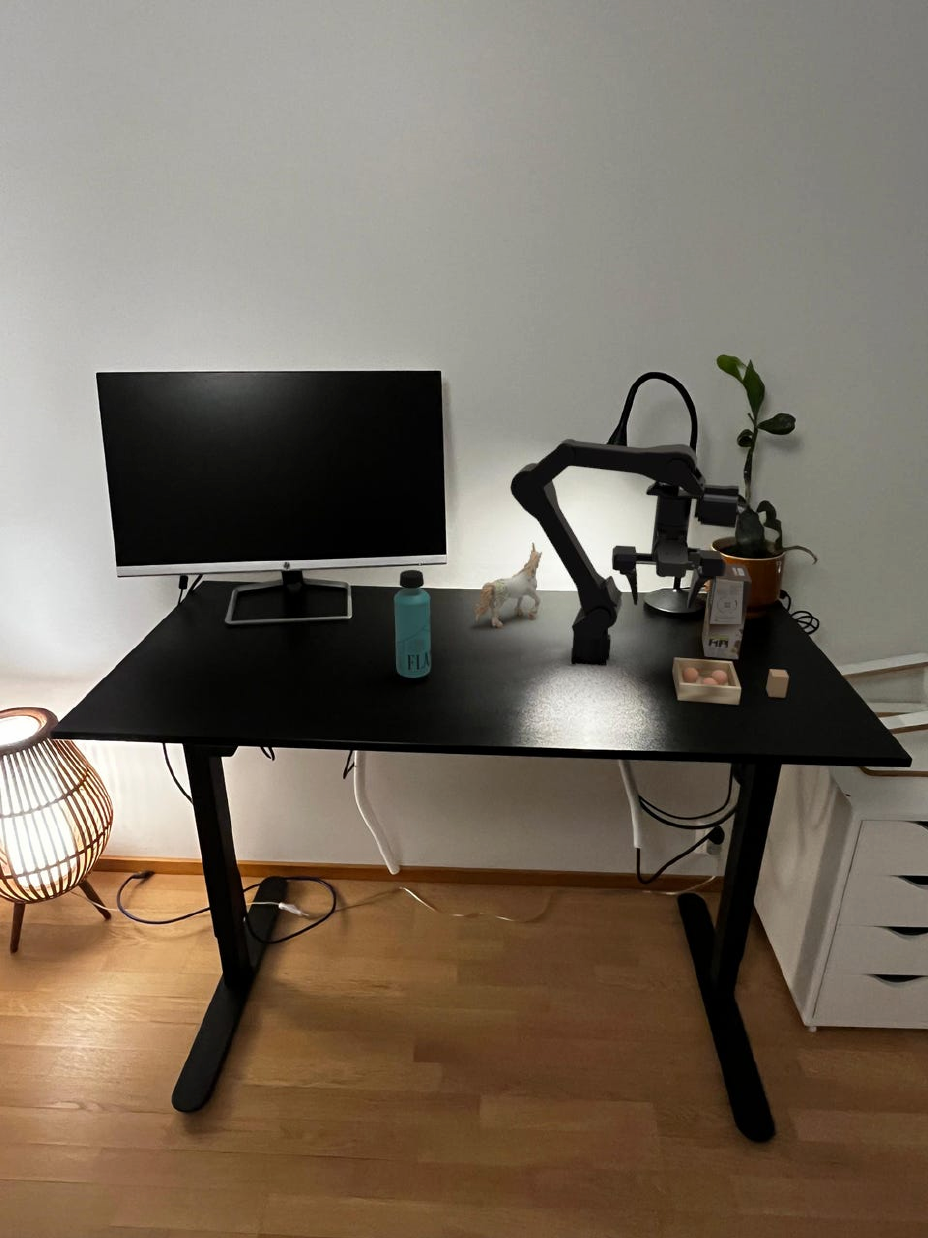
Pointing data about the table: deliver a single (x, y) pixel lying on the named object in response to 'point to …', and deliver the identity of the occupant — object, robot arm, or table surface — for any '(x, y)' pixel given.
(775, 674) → the lid
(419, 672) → the beverage bottle
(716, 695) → the box
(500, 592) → the unicorn figurine
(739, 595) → the coffee box
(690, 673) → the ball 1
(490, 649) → the table surface
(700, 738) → the table surface
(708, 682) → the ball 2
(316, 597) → the table surface
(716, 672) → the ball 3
